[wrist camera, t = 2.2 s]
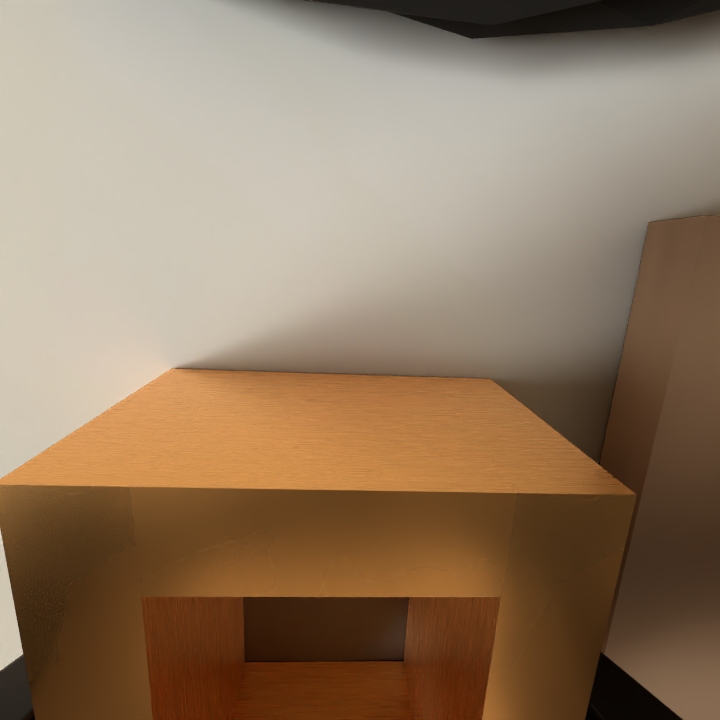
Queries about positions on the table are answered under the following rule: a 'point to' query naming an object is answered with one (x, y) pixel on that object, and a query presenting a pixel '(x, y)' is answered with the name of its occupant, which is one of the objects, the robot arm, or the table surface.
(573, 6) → the cable lock
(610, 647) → the plate
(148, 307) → the table surface
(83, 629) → the hollow wooden frame
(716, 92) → the table surface
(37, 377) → the table surface
